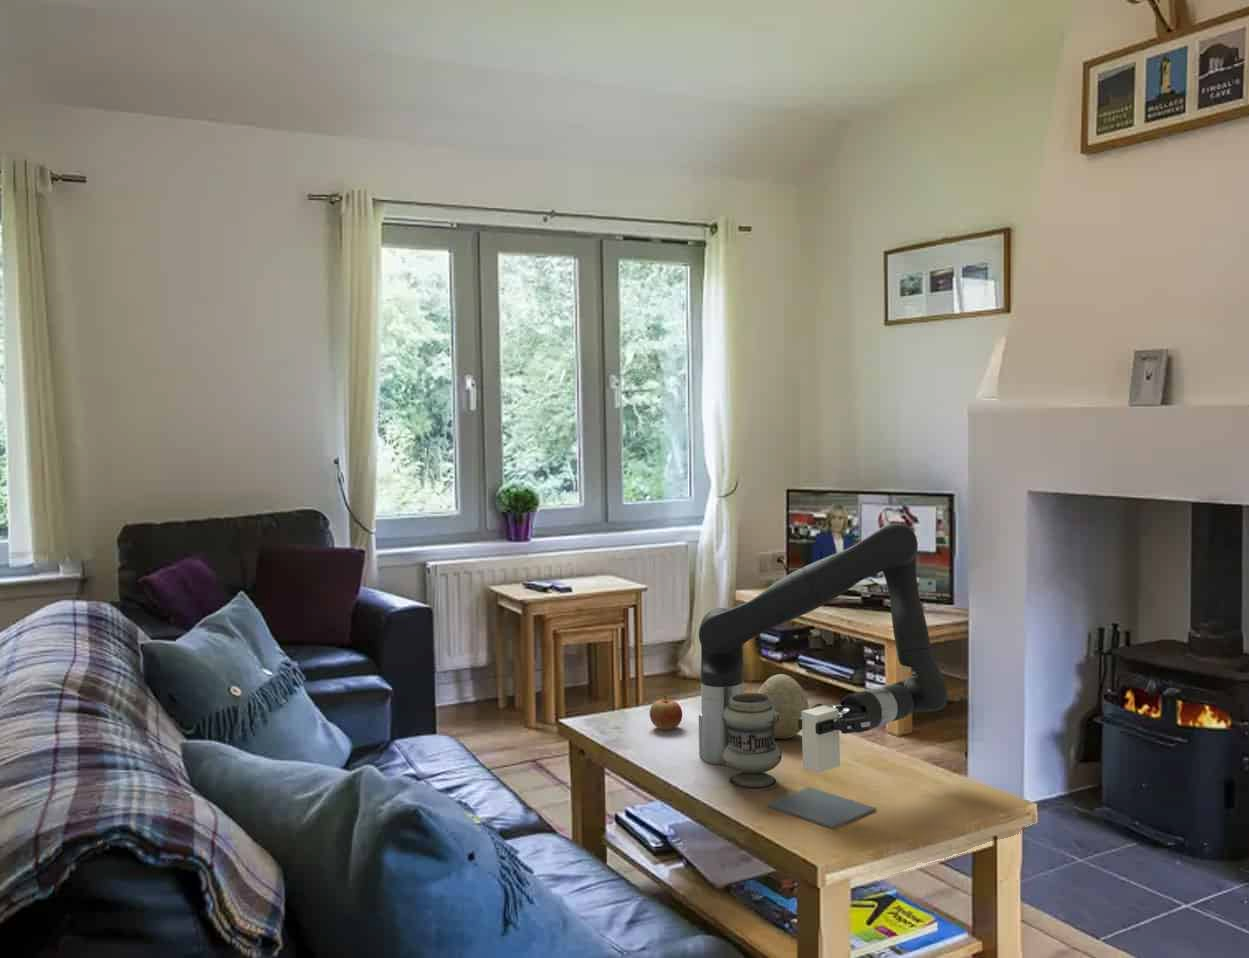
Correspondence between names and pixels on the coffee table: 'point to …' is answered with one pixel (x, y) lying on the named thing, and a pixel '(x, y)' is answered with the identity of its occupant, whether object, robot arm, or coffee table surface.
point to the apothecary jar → (751, 741)
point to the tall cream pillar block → (819, 740)
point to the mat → (821, 807)
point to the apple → (665, 714)
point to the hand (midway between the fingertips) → (808, 726)
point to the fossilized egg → (785, 703)
